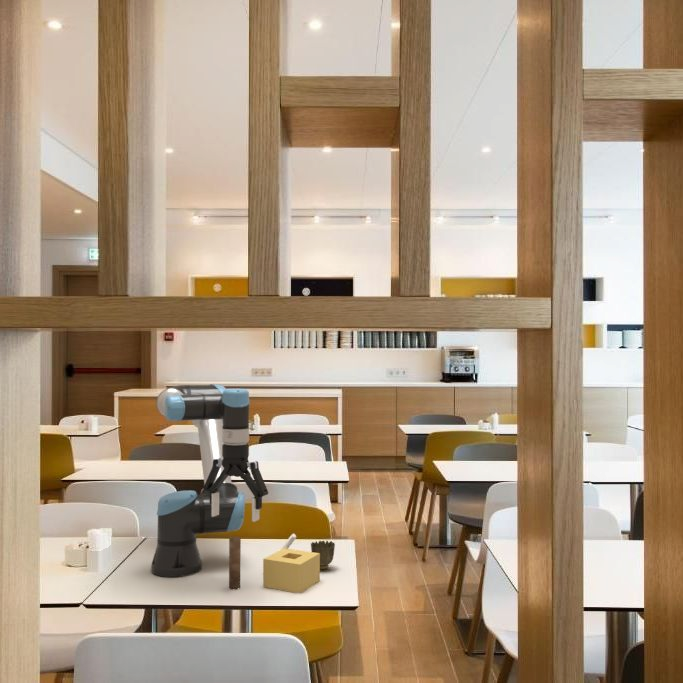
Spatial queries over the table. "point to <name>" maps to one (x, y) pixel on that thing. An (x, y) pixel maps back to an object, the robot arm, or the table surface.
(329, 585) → the table surface
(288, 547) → the hook
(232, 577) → the walnut peg
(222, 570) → the table surface
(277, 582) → the hole block
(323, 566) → the cup
